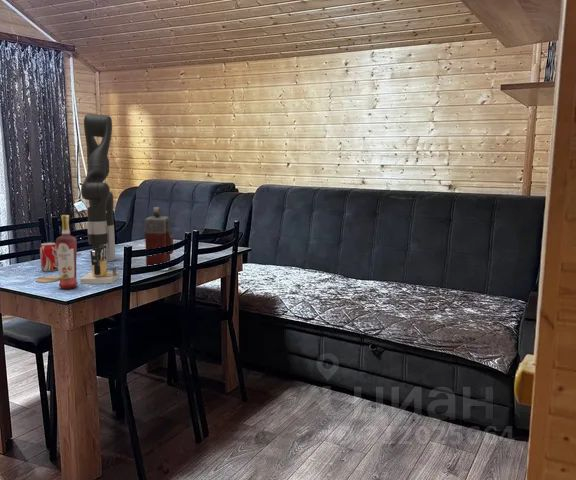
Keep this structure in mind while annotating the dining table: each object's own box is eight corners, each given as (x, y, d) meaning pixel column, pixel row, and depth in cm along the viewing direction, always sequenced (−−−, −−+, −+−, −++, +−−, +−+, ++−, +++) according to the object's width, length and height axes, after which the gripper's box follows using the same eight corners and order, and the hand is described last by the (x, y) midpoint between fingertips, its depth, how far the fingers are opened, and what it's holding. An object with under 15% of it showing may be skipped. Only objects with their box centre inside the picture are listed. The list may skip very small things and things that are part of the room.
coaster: (41, 277, 216) (41, 276, 216) (63, 277, 216) (63, 275, 216) (32, 282, 207) (32, 281, 207) (55, 282, 208) (55, 281, 208)
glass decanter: (171, 271, 230) (170, 208, 226) (146, 270, 230) (144, 207, 225) (175, 266, 239) (174, 206, 234) (151, 266, 239) (149, 205, 234)
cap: (99, 272, 216) (99, 258, 215) (113, 274, 212) (113, 260, 212) (89, 275, 210) (88, 260, 210) (103, 277, 207) (102, 262, 206)
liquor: (81, 285, 204) (78, 214, 199) (74, 290, 196) (71, 216, 192) (62, 285, 204) (59, 214, 199) (54, 289, 196) (51, 216, 192)
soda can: (52, 272, 225) (50, 245, 223) (37, 271, 226) (35, 244, 224) (62, 269, 232) (60, 242, 230) (48, 268, 233) (46, 242, 231)
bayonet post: (89, 276, 218) (89, 260, 217) (119, 276, 219) (119, 260, 218) (80, 283, 206) (79, 266, 205) (112, 283, 207) (111, 266, 206)
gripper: (102, 234, 202) (104, 277, 205) (111, 229, 216) (113, 269, 219) (82, 234, 202) (84, 277, 204) (93, 229, 216) (95, 269, 219)
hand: (99, 272), depth 212 cm, fingers closed on cap, 5 cm apart
